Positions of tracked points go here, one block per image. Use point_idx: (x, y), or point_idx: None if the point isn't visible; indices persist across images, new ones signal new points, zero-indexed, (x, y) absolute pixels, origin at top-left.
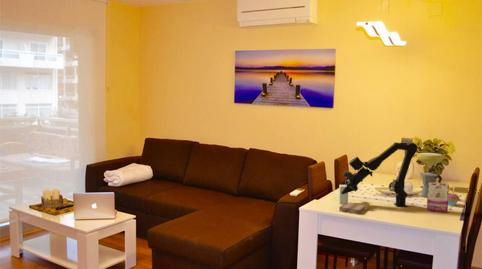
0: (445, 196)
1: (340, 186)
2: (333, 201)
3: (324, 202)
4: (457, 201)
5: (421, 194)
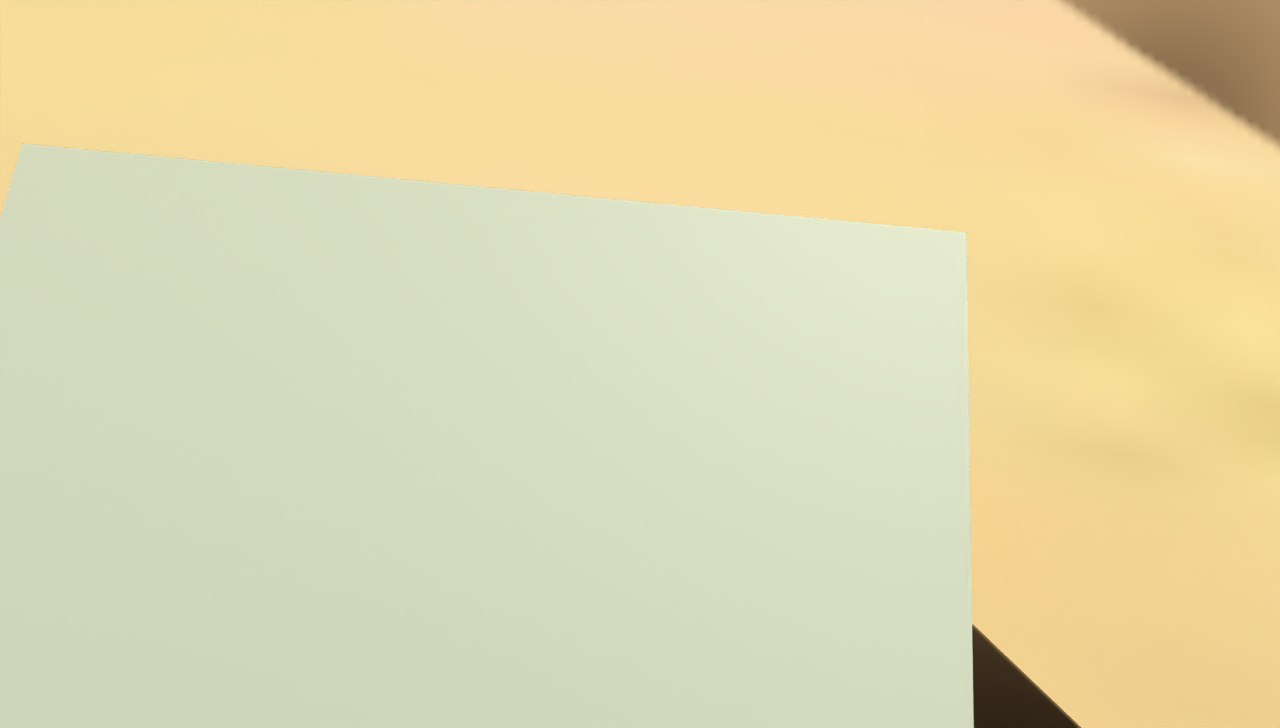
0: None
1: (46, 181)
2: None
3: (606, 22)
4: None
5: None
